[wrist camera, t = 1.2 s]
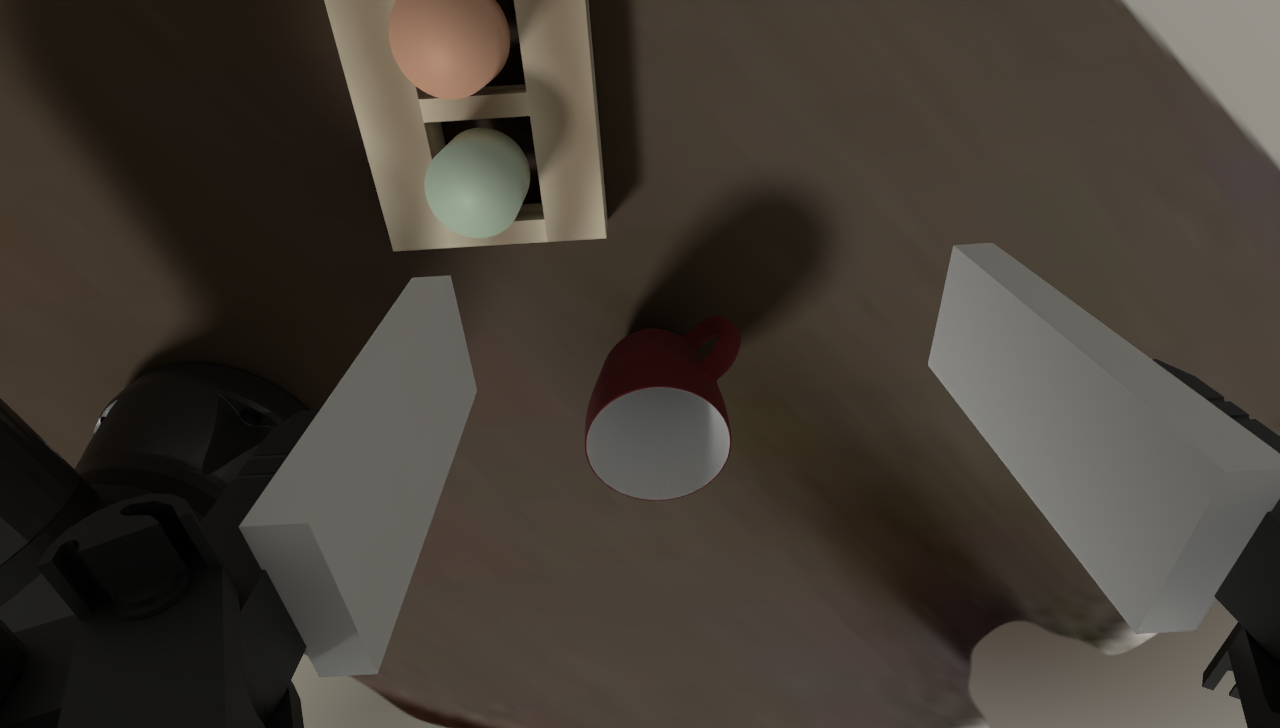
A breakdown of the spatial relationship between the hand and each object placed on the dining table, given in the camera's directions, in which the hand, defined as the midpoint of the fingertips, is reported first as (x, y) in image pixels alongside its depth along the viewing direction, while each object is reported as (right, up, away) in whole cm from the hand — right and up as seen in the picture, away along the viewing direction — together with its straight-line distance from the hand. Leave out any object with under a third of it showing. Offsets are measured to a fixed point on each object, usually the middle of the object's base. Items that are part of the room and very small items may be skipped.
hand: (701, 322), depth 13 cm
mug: (0, +1, +30) cm, 30 cm away
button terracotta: (-10, +15, +17) cm, 25 cm away
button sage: (-9, +9, +21) cm, 25 cm away
